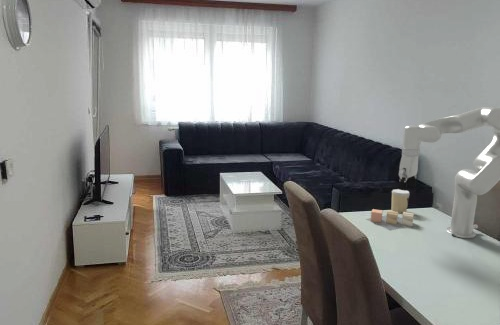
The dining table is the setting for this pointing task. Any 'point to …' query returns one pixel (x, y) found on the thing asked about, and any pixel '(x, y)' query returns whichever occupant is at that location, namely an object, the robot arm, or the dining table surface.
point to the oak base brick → (391, 217)
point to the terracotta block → (376, 215)
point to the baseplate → (391, 226)
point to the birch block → (407, 218)
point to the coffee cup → (399, 200)
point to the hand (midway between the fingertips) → (407, 188)
